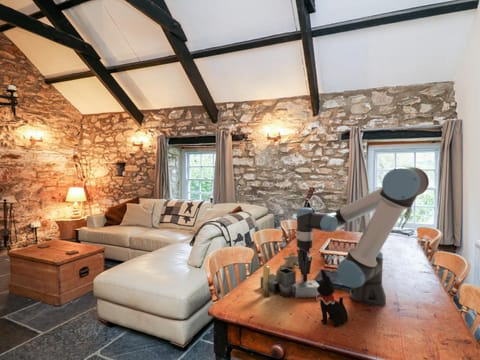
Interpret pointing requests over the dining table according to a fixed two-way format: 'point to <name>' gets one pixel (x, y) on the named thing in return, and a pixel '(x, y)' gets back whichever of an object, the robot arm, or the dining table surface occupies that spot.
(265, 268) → the pin
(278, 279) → the hinge base
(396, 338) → the dining table surface
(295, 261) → the vertebra
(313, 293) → the grey flat block
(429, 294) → the dining table surface
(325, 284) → the figurine
